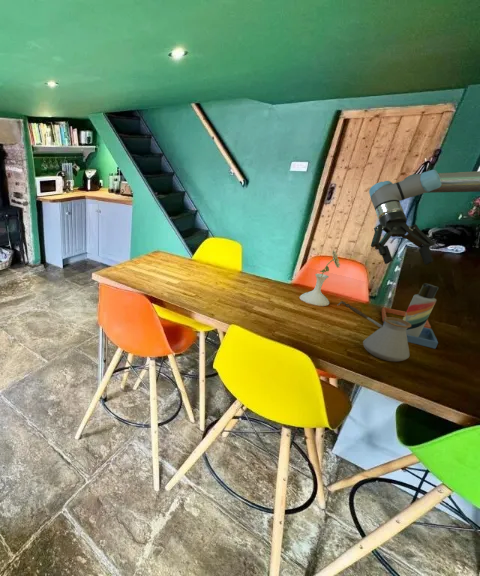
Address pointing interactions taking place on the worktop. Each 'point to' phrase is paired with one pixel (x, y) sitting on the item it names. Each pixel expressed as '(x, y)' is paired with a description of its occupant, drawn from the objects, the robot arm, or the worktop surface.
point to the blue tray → (424, 338)
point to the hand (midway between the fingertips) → (408, 262)
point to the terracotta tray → (399, 314)
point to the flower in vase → (319, 287)
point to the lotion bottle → (420, 309)
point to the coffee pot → (387, 338)
